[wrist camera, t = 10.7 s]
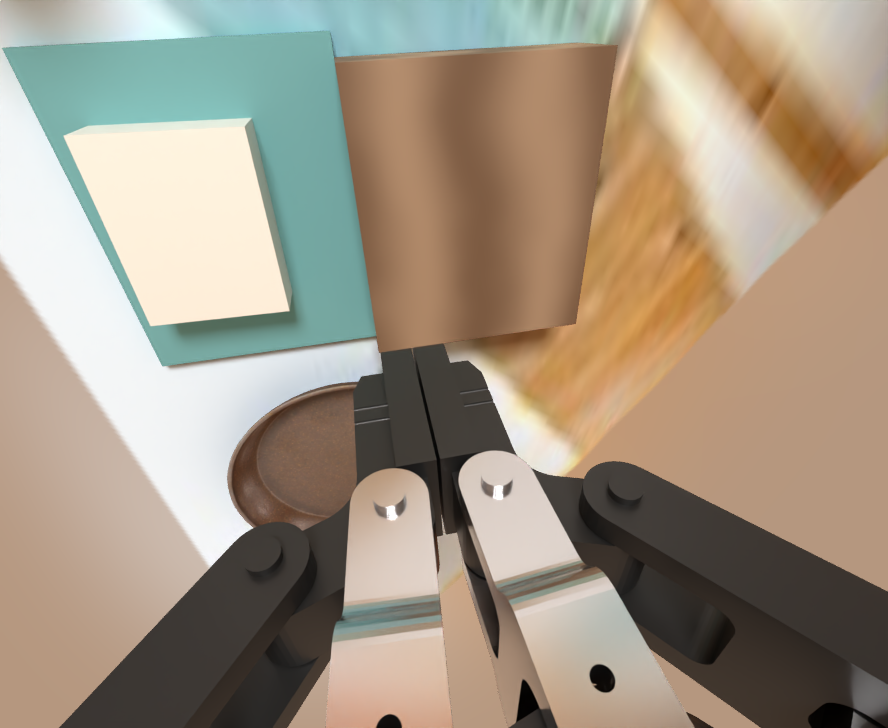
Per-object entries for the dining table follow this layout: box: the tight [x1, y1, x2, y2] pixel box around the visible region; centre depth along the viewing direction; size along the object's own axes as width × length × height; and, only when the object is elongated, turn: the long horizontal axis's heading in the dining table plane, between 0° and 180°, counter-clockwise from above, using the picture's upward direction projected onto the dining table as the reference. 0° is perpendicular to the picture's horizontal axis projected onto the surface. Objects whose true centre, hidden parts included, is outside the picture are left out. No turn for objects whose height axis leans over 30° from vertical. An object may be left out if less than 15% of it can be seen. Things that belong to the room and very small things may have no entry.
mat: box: [2, 31, 376, 366], centre depth 24 cm, size 13×16×1 cm
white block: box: [64, 118, 292, 326], centre depth 23 cm, size 7×9×2 cm
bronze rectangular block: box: [334, 43, 618, 353], centre depth 25 cm, size 12×14×4 cm
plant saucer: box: [227, 382, 442, 531], centre depth 36 cm, size 18×18×3 cm
